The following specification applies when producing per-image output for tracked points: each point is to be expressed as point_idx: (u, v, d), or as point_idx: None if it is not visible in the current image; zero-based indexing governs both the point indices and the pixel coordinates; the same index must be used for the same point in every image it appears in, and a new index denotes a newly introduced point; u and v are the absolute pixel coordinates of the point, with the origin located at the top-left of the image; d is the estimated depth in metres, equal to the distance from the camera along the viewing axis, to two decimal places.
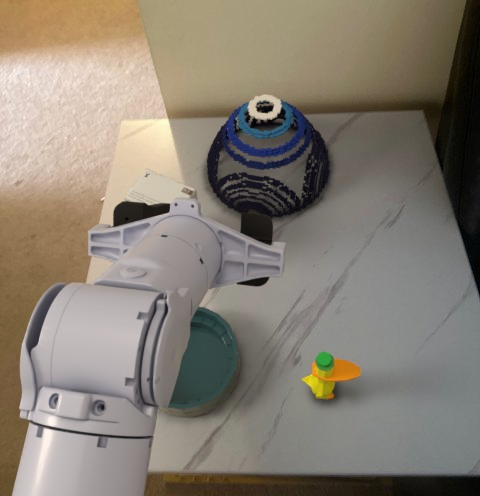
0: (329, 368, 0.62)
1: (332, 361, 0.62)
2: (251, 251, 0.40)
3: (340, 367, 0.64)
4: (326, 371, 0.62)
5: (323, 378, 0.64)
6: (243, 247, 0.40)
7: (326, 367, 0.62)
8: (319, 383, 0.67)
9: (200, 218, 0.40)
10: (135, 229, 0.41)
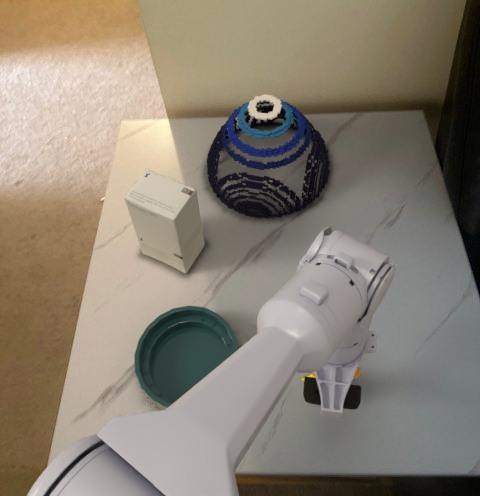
0: None
1: None
2: (338, 388, 0.54)
3: None
4: None
5: None
6: (341, 382, 0.54)
7: None
8: None
9: (364, 351, 0.55)
10: None
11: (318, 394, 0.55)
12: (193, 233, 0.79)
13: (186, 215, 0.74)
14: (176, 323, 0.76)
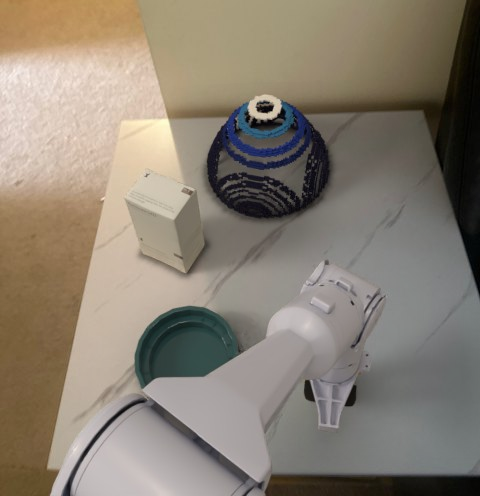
0: None
1: None
2: (335, 404, 0.58)
3: None
4: None
5: None
6: (338, 399, 0.59)
7: None
8: None
9: (358, 370, 0.60)
10: None
11: None
12: (193, 233, 0.79)
13: (186, 215, 0.74)
14: (176, 323, 0.76)
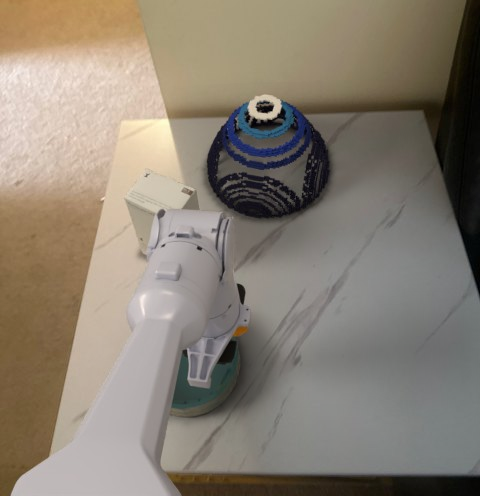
0: None
1: None
2: (208, 359, 0.55)
3: None
4: None
5: None
6: (211, 353, 0.56)
7: None
8: None
9: (236, 325, 0.57)
10: None
11: None
12: None
13: None
14: None
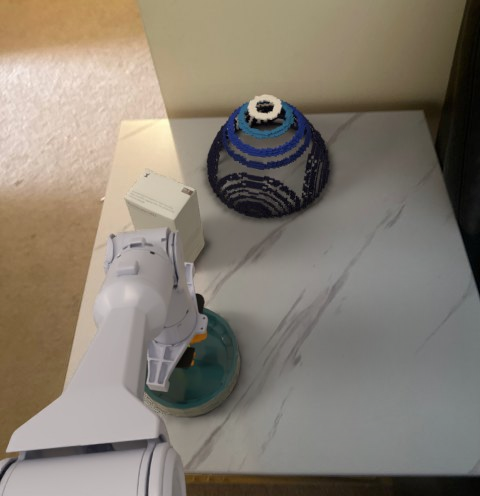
0: None
1: None
2: (166, 365, 0.60)
3: None
4: None
5: None
6: (169, 359, 0.60)
7: None
8: None
9: (193, 332, 0.61)
10: (190, 291, 0.65)
11: None
12: (193, 233, 0.79)
13: (186, 215, 0.74)
14: None
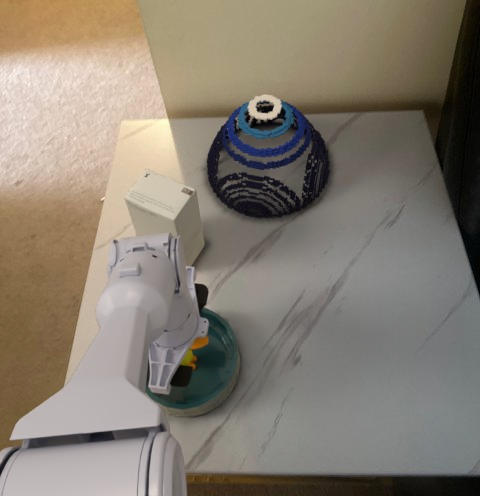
0: None
1: None
2: (168, 368, 0.61)
3: None
4: None
5: None
6: (171, 362, 0.61)
7: None
8: None
9: (194, 336, 0.62)
10: (191, 295, 0.66)
11: None
12: (193, 233, 0.79)
13: (186, 215, 0.74)
14: None
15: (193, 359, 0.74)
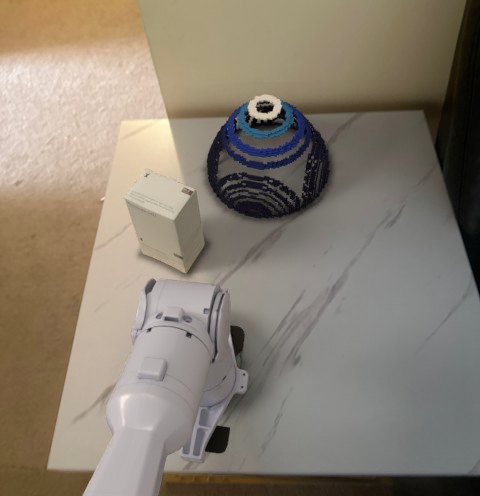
0: None
1: None
2: (202, 431, 0.51)
3: None
4: None
5: None
6: (206, 425, 0.52)
7: None
8: None
9: (232, 392, 0.53)
10: None
11: None
12: (193, 233, 0.79)
13: (186, 215, 0.74)
14: None
15: None
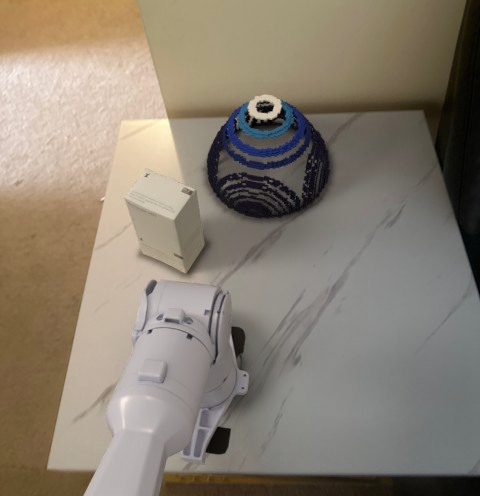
0: None
1: None
2: (203, 432, 0.51)
3: None
4: None
5: None
6: (206, 426, 0.52)
7: None
8: None
9: (233, 393, 0.53)
10: None
11: None
12: (193, 233, 0.79)
13: (186, 215, 0.74)
14: None
15: None
